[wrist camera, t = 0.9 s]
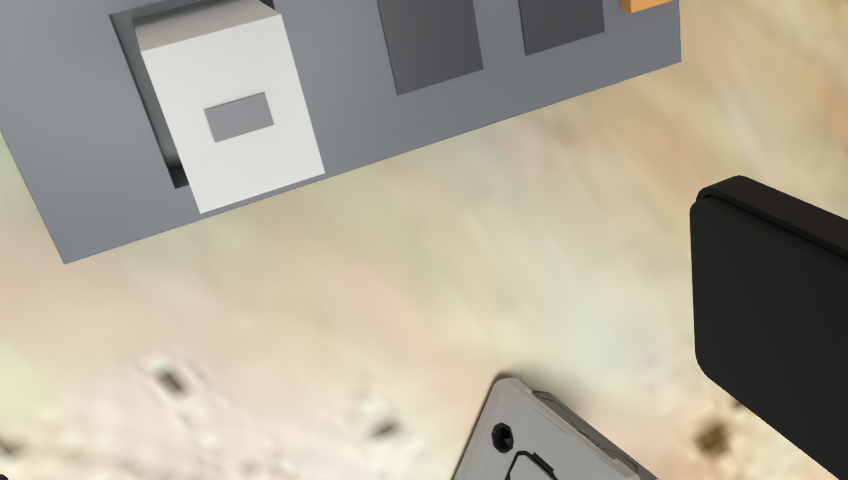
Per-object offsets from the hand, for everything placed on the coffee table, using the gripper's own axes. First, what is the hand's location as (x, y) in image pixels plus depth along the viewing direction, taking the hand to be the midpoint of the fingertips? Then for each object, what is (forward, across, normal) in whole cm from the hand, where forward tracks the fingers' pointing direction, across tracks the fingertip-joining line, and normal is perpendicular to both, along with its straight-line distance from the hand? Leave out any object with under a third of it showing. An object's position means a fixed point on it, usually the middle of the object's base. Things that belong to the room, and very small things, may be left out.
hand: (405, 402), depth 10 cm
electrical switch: (+22, -9, +24) cm, 34 cm away
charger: (+22, 0, 0) cm, 22 cm away
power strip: (+22, -6, 0) cm, 23 cm away
